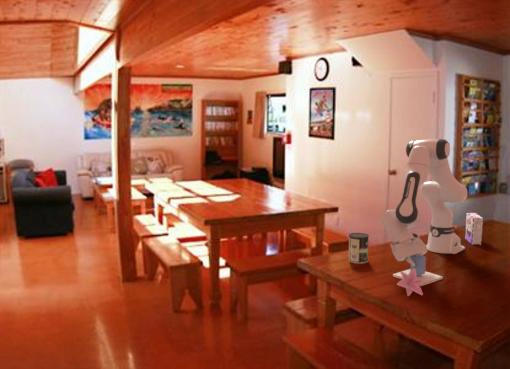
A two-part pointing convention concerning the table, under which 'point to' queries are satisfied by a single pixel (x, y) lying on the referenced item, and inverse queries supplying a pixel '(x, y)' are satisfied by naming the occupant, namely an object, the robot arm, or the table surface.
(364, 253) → the coffee can
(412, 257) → the blue domed block
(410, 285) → the lily
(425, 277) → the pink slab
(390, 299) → the table surface
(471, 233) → the candy box
